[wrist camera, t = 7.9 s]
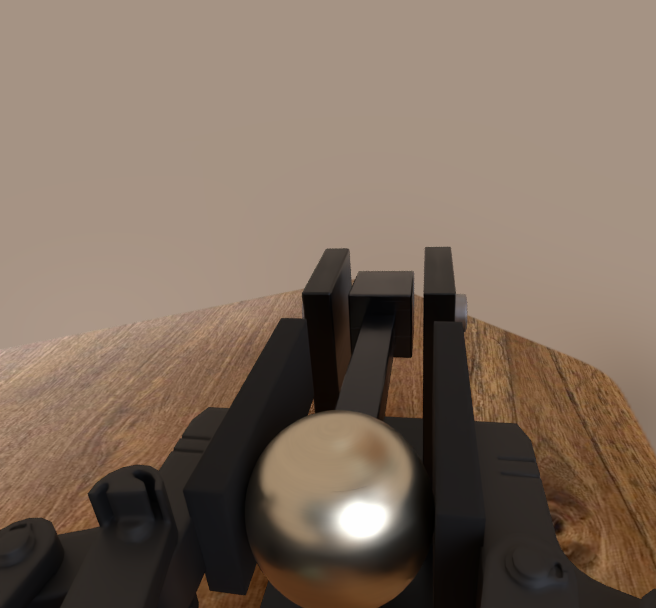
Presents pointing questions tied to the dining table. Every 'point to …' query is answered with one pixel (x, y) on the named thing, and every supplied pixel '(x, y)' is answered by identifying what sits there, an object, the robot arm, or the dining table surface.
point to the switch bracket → (332, 362)
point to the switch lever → (347, 475)
